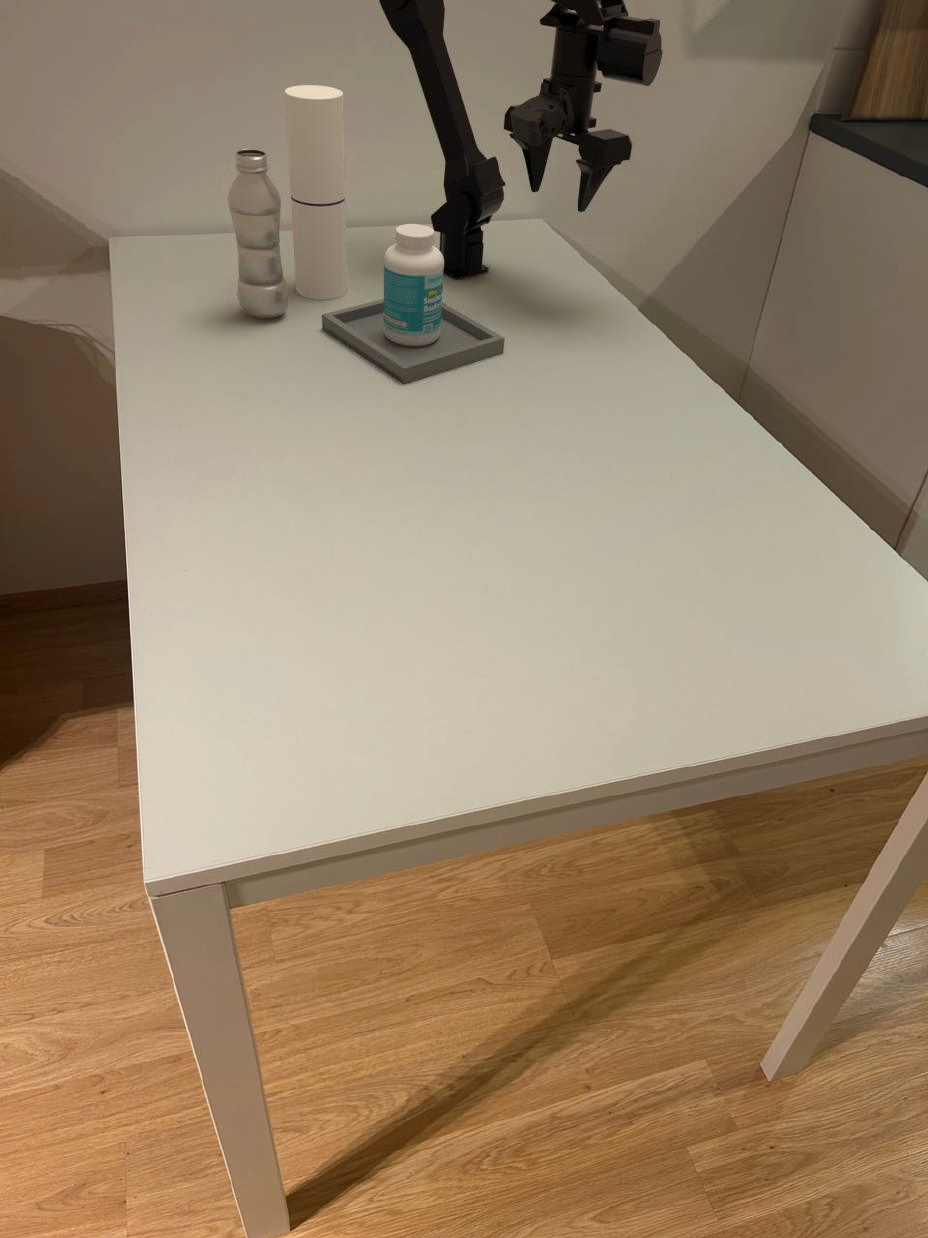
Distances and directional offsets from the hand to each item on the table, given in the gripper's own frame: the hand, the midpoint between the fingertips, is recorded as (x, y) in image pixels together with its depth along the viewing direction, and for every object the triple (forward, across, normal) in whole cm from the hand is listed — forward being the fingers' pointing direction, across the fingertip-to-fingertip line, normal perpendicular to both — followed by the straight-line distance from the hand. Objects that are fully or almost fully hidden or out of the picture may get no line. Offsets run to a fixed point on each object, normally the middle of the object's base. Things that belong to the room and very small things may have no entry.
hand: (557, 201), depth 127 cm
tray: (+13, +2, -26) cm, 29 cm away
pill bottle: (+13, +2, -26) cm, 29 cm away
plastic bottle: (+13, -15, -38) cm, 43 cm away
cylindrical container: (+13, -18, -27) cm, 35 cm away
